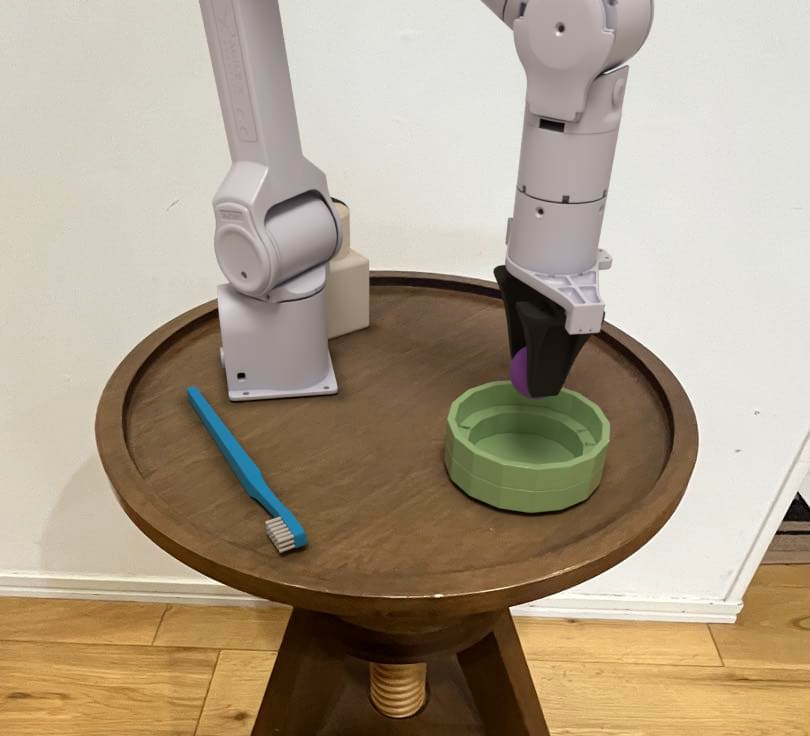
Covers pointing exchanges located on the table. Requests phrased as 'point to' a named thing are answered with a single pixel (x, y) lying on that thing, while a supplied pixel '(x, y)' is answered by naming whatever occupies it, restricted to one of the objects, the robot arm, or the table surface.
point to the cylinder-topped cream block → (347, 284)
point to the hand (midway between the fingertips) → (534, 379)
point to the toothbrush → (250, 478)
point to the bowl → (525, 447)
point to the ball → (520, 373)
